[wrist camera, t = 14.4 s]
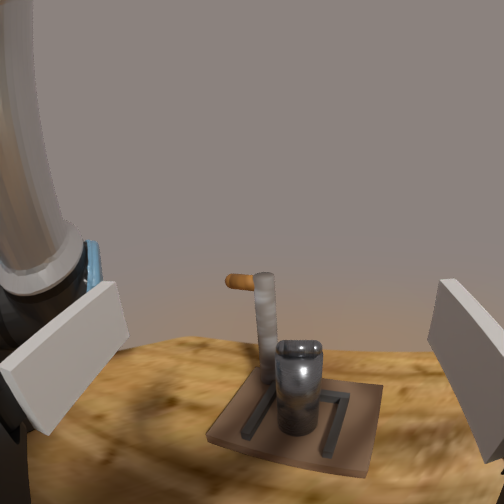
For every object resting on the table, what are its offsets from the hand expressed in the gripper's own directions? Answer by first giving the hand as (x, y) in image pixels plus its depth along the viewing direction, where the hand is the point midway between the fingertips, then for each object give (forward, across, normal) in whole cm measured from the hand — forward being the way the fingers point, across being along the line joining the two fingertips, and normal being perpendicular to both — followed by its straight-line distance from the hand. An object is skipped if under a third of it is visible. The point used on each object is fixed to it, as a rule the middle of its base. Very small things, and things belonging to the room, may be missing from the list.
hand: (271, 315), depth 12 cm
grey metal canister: (+14, +1, -22) cm, 26 cm away
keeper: (+15, +1, -24) cm, 28 cm away
